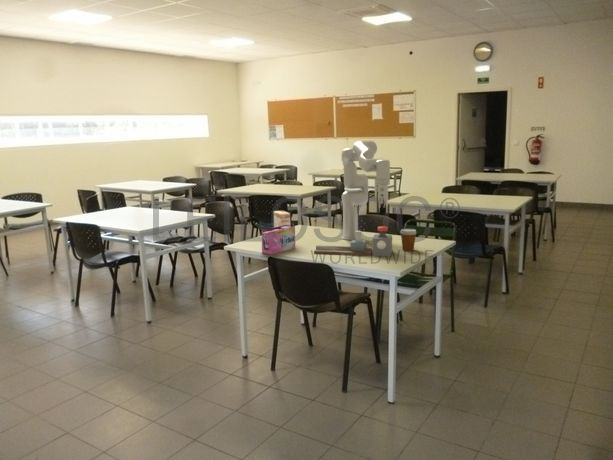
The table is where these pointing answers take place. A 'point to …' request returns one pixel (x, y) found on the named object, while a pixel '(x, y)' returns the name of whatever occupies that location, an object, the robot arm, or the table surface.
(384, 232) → the gauge button
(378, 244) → the gauge cabinet
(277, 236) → the gum box
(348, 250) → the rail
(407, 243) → the disposable coffee cup
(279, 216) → the coffeecake box
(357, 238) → the carriage
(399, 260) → the table surface
